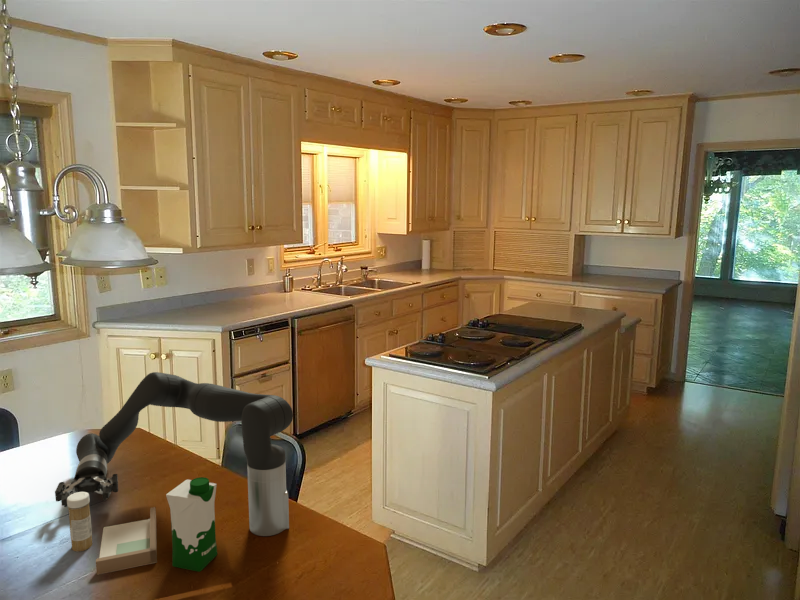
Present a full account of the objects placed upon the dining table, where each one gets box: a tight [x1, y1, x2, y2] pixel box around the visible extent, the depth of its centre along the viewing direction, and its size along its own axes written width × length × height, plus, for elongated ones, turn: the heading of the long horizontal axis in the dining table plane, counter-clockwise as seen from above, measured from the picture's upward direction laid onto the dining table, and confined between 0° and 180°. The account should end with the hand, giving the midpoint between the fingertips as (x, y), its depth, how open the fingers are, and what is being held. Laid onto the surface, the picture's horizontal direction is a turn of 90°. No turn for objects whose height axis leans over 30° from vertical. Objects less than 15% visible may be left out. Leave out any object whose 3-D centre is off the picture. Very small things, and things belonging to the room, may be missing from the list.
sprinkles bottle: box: [67, 492, 94, 552], centre depth 138 cm, size 5×5×13 cm
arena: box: [95, 506, 158, 575], centre depth 140 cm, size 12×20×4 cm, turn 22°
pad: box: [116, 538, 150, 555], centre depth 137 cm, size 7×7×1 cm
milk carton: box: [165, 476, 218, 573], centre depth 133 cm, size 9×9×20 cm
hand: (85, 500), depth 147 cm, fingers open, 8 cm apart
